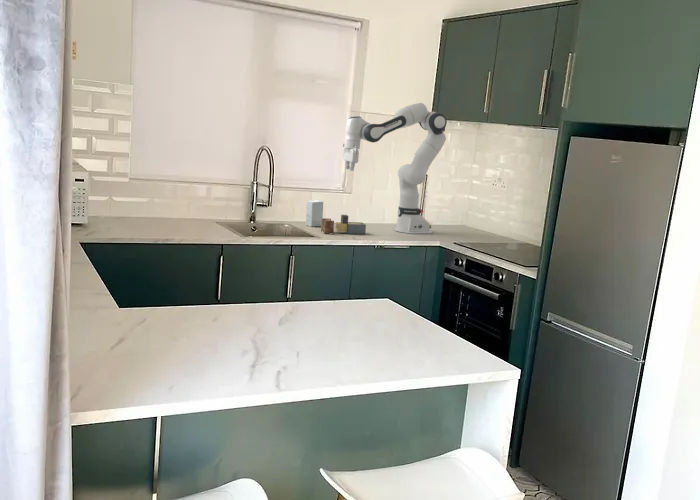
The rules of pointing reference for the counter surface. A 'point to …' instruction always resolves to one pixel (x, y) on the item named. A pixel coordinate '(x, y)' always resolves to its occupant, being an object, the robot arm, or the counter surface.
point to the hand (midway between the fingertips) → (349, 169)
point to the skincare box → (314, 213)
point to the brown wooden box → (327, 225)
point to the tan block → (343, 224)
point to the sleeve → (356, 228)
